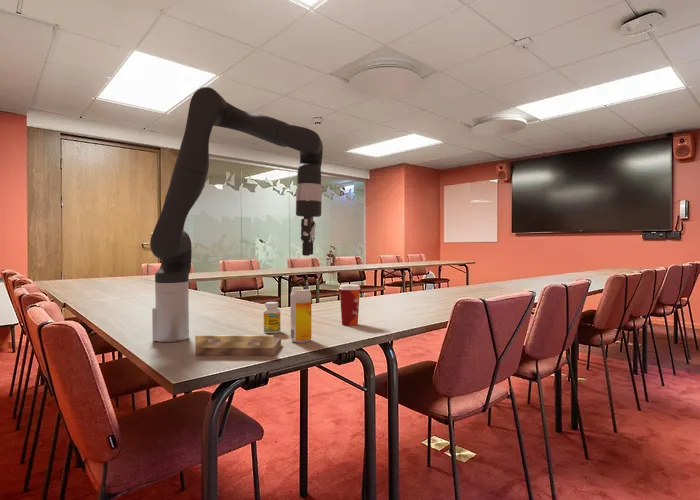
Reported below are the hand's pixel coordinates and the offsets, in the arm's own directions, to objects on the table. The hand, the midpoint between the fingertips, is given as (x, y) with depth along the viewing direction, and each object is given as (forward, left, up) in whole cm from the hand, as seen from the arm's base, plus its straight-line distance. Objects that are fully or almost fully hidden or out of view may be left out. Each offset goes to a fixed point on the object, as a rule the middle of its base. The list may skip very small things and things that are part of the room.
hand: (307, 255), depth 122 cm
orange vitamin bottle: (-2, -1, -26) cm, 26 cm away
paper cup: (+12, +24, -26) cm, 37 cm away
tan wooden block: (-17, -12, -25) cm, 33 cm away
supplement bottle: (-13, +11, -26) cm, 31 cm away
